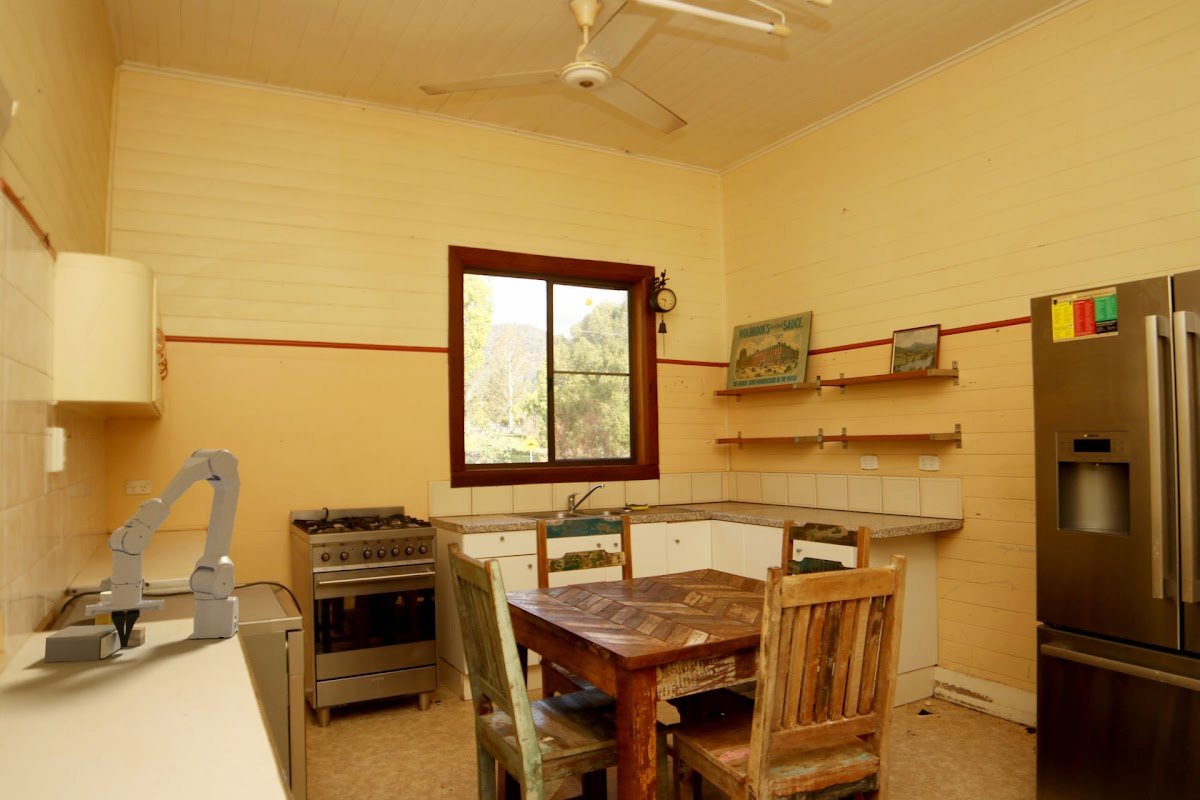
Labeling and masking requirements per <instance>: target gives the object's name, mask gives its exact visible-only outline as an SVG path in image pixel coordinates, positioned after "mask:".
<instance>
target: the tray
mask: <svg viewBox="0 0 1200 800" xmlns="http://www.w3.org/2000/svg"><path fill="white" fill-rule="evenodd" d="M124 632H125V627H124ZM120 649H121V648H120V639H119V635H118V632H117V630H115V631H114V632H112V633H110V634H109V635H107V636H105V637H103V638H102V639H101V656H100V658H102V659H105V658H107V657H109V656H110V655H112V654H113V653H115V652H116V651H118V650H120Z"/></svg>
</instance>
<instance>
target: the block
mask: <svg viewBox="0 0 1200 800" xmlns="http://www.w3.org/2000/svg"><path fill="white" fill-rule="evenodd" d="M146 629H147V628H146V626H135V627H134V626H133V628H132V631H131V633H130V636H129V640H128V645H127V647H136V646H137V647H139V646H141V645H143V644H145V643H146Z"/></svg>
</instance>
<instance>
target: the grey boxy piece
mask: <svg viewBox="0 0 1200 800" xmlns="http://www.w3.org/2000/svg"><path fill="white" fill-rule="evenodd" d="M115 630H117V629H116V627H115V625H95V624H94V625H71V626H68V627H65V628H64V629H61V630H59V631H57V632H55V633H53V634H50V635H49V636H47V637H45V648H44V652H45V653H44V663H45V662H47V663H54V662H53V661H71V662H86V661H87V662H89V661H90V662H91V661H92V662H93V661H100V660H101V659H103V658H100V656H101V638H102V637H104V636H107V635H109V634H110V633H112V632H114V631H115Z"/></svg>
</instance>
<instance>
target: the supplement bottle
mask: <svg viewBox="0 0 1200 800" xmlns="http://www.w3.org/2000/svg"><path fill="white" fill-rule="evenodd" d="M99 600H100V601H99V602H97V603H96V604H104V603H111V591H108V592H103V591H102V592H100V593H99ZM111 614H112V613H110V614H97V615H95V617H94V618H95V620H94V621H95V623H94V625H114V623H113V621H112V619H111Z"/></svg>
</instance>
